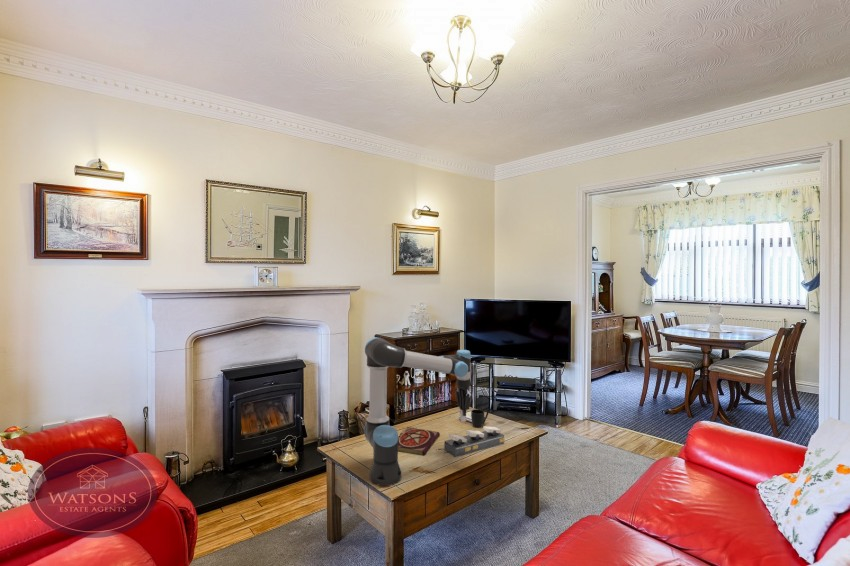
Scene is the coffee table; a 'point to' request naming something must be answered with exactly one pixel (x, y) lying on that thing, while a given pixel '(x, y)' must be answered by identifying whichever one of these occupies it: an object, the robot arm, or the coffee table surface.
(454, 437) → the block
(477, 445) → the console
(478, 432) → the white rectangular block
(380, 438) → the robot arm
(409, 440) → the book
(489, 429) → the block
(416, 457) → the coffee table surface
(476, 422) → the mug
